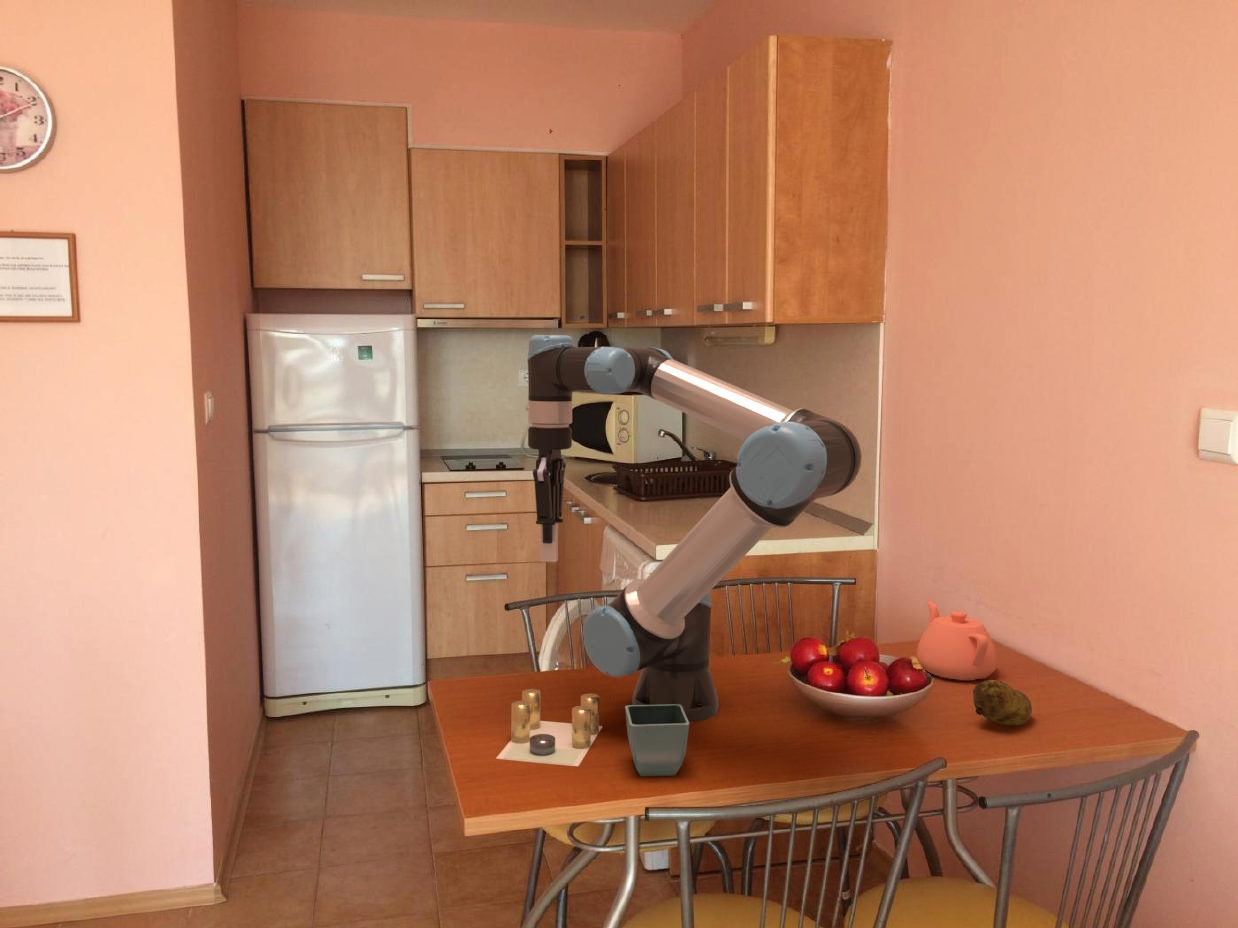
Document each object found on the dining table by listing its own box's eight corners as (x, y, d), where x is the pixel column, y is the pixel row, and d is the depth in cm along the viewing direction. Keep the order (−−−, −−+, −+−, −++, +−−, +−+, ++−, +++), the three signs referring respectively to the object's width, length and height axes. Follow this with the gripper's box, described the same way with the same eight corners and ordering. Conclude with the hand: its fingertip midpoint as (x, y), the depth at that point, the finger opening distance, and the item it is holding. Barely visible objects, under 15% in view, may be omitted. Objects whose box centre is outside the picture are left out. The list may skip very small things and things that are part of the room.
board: (602, 728, 172) (602, 725, 172) (578, 769, 156) (578, 765, 155) (527, 722, 175) (527, 719, 175) (495, 761, 158) (495, 757, 158)
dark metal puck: (559, 748, 162) (559, 736, 162) (548, 757, 158) (548, 745, 158) (536, 744, 164) (537, 732, 163) (525, 753, 160) (525, 740, 160)
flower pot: (623, 760, 159) (624, 704, 158) (680, 759, 160) (681, 703, 159) (629, 784, 150) (630, 724, 149) (688, 782, 151) (690, 723, 150)
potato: (1051, 728, 175) (1054, 682, 174) (988, 736, 171) (991, 690, 170) (1017, 712, 183) (1020, 668, 182) (956, 719, 179) (959, 674, 178)
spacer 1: (532, 737, 167) (532, 701, 166) (526, 744, 164) (526, 707, 163) (514, 735, 167) (515, 699, 167) (508, 742, 164) (508, 705, 164)
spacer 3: (600, 729, 171) (600, 694, 170) (596, 735, 168) (596, 700, 167) (582, 727, 171) (583, 692, 170) (578, 734, 168) (578, 698, 168)
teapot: (893, 657, 215) (895, 599, 214) (959, 653, 218) (962, 596, 217) (947, 691, 194) (950, 627, 192) (1019, 687, 197) (1023, 624, 195)
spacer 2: (542, 724, 173) (542, 689, 172) (537, 730, 170) (537, 695, 169) (525, 722, 173) (525, 688, 172) (519, 729, 170) (519, 693, 170)
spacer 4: (592, 742, 165) (592, 706, 164) (588, 749, 162) (588, 712, 161) (574, 741, 165) (574, 704, 165) (569, 748, 162) (569, 711, 162)
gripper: (539, 422, 184) (538, 552, 186) (517, 427, 171) (517, 567, 174) (580, 423, 182) (579, 554, 185) (561, 428, 169) (560, 569, 172)
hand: (549, 560), depth 179 cm, fingers closed
